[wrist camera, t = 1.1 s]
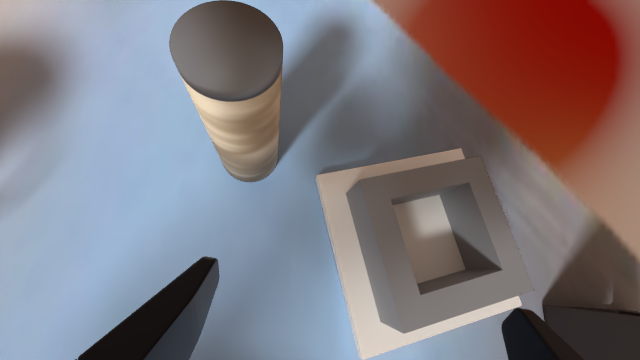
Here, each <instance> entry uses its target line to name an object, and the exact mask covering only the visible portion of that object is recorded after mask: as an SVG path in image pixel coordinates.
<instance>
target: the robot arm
mask: <svg viewBox="0 0 640 360" xmlns="http://www.w3.org/2000/svg"><path fill="white" fill-rule="evenodd" d="M218 281H219V267H218V260H217V259H216V258H212V257H202V258H201V259H199V260H198V261H197V262H196V263H194V264H193V265H192V266H191V267H189V268H188V269H187V270H186V271H185V272H183V273H182V274H181V275H180V276H178V277H177V278H176V279H175V280H173V281H172V282H171V283H170V284H168V285H167V286H166V287H165V288H163V289H162V290H161V291H160V292H158V293H157V294H156V295H155V296H153V297H152V298H151V299H150V300H148V301H147V302H146V303H145V304H144V305H142V306H141V307H140V308H139V309H137V310H136V311H135V312H134V313H132V314H131V315H130V316H129V317H127V318H126V319H125V320H124V321H122V322H121V323H120V324H119V325H117V326H116V327H115V328H114V329H112V330H111V331H110V332H109V333H108V334H106V335H105V336H104V337H103V338H101V339H100V340H99V341H98V342H96V343H95V344H94V345H93V346H91V347H90V348H89V349H88V350H86V351H85V352H84V353H83V354H81V355H80V356H79V358H78V360H189V359H190V356H191V354H192V352H193V350H194V348H195V346H196V343H197V341H198V339H199V336H200V334H201V331H202V329H203V326H204V323H205V320H206V317H207V314H208V311H209V308H210V305H211V302H212V299H213V296H214V293H215V291H216V288H217V285H218ZM502 334H503V338H504V342H505V347H506V351H507V355H508V360H585V359H584V358H583V357H582V356H581V355H580V354H578V353H577V352H576V351H575V350H574V349H573V348H572V347H571V346H570V345H569V344H568V343H567V342H566V341H564V340H563V339H562V338H561V337H560V336H559V335H558V334H557V333H556V332H555V331H554V330H553V329H552V328H550V327H549V326H548V325H547V324H546V323H545V322H544V321H543V320H542V319H541V318H540V317H539V316H537V315H536V314H535V313H534V312H533V311H531V310H527V309H521V308H516V309H514V310H513V311H512V312H511V313H510V315H509V316H508V317H507V318H506V319H505V320H504V321H503V323H502ZM76 360H77V359H76Z"/></svg>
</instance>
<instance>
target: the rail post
mask: <svg viewBox="0 0 640 360" xmlns="http://www.w3.org/2000/svg"><path fill="white" fill-rule="evenodd" d="M169 44H170V52H171V55H172V58H173V60H174V62H175V65H176V67H177V69H178V71H179V73H180V75H181V77H182V79H183V81H184V83H185V85H186V88H187V90H188V92H189V94H190V96H191V98H192V100H193V102H194V104H195V106H196V108H197V111H198V113H199V115H200V117H201V119H202V121H203V123H204V125H205V127H206V129H207V131H208V134H209V136H210V138H211V140H212V142H213V144H214V146H215V148H216V150H217V152H218V154H219V157H220V159H221V161H222V163H223V165H224V167H225V169H226V170H227V172H228V173H229V174H230V175H231V176H233V177H234V178H236V179H238V180H240V181H244V182H256V181H259V180H262V179H264V178H266V177H267V176H269V175H270V174H271V173H272V171H273V170H274V168H275V167H276V164H277V160H278V143H279V123H280V103H281V83H282V63H283V41H282V37H281V34H280V32H279V30H278V28H277V27H276V25H275V24H274V22H273V21H272V20H271V19H270V18H269V17H268V16H267V15H266V14H264V13H263V12H261V11H260V10H258V9H256V8H254V7H252V6H250V5H247V4H244V3H241V2H236V1H227V0H220V1H211V2H206V3H203V4H200V5H198V6H195V7H193V8H192V9H190V10H188V11H187V12H186V13H184V14H183V15H182V16H181V17H180V18H179V19H178V21H177V22H176V23H175V25H174V27H173V29H172V31H171V35H170V41H169Z"/></svg>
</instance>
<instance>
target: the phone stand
mask: <svg viewBox="0 0 640 360" xmlns="http://www.w3.org/2000/svg"><path fill="white" fill-rule="evenodd" d="M543 310H544V316H545V323H546V324H547V325H548V326H549V327H550V328H552V329H553V330H554V331H555V332H556V333H557V334H558V335H559V336H560V337H561V338H562V339H563V340H564V341H566V342H567V343H568V344H569V345H570V346H571V347H572V348H573V349H574V350H575V351H576V352H577V353H578V354H580V355H581V356H582V357H583V358H584V359H585V360H640V312H636V311H627V310H612V309H595V308H579V307H562V306H546V305H543Z"/></svg>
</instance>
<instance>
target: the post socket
mask: <svg viewBox="0 0 640 360" xmlns="http://www.w3.org/2000/svg"><path fill="white" fill-rule="evenodd" d="M315 180H316V184H317V188H318V192H319V196H320V200H321V204H322V208H323V212H324V217H325V221H326V225H327V229H328V233H329V237H330V241H331V245H332V249H333V253H334V257H335V261H336V265H337V270H338V274H339V278H340V282H341V286H342V290H343V294H344V298H345V302H346V306H347V310H348V314H349V319H350V323H351V327H352V331H353V335H354V339H355V343H356V347H357V351H358V355H359V357H360V358H361V359H362V360H364V359H367V358H370V357H373V356H376V355H379V354H382V353H385V352H388V351H390V350H393V349H396V348H399V347H402V346H405V345H408V344H411V343H414V342H417V341H420V340H423V339H425V338H428V337H431V336H434V335H437V334H440V333H443V332H446V331H449V330H452V329H455V328H457V327H460V326H463V325H466V324H469V323H472V322H475V321H478V320H481V319H484V318H487V317H490V316H492V315H495V314H498V313H501V312H504V311H507V310H510V309H513V308H516V307H519V306H522V304H521V301H520V298H519V295H522V294H525V293H528V292H531V291H534V290H535V289H534V287H533V284H532V282H531V279H530V277H529V274H528V272H527V269H526V267H525V264H524V262H523V260H522V257H521V255H520V252H519V250H518V247H517V245H516V242H515V240H514V237H513V235H512V232H511V230H510V227H509V225H508V222H507V220H506V218H505V215H504V213H503V210H502V208H501V205H500V203H499V200H498V198H497V195H496V193H495V190H494V188H493V185H492V183H491V180H490V178H489V176H488V173H487V171H486V168H485V166H484V163H483V161H482V158H481V156H476V157H471V158H466V159H465V157H464V155H463V152H462V149H461V148H459V149H454V150H449V151H443V152H438V153H433V154H427V155H422V156H416V157H411V158H406V159H400V160H395V161H390V162H384V163H379V164H373V165H368V166H363V167H357V168H352V169H347V170H341V171H336V172H330V173H325V174H320V175H317V176H316V178H315Z"/></svg>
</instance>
